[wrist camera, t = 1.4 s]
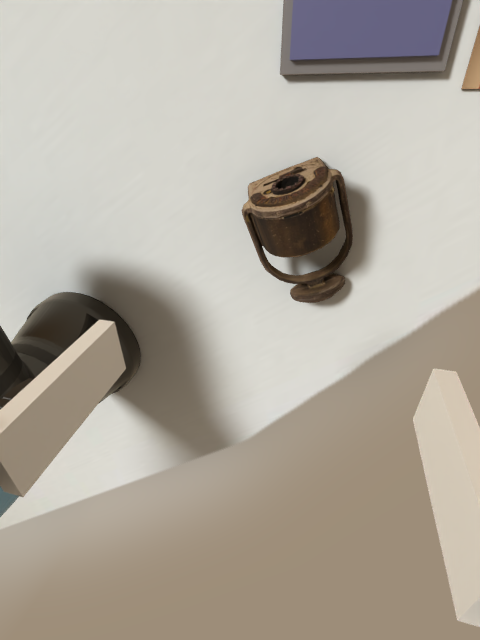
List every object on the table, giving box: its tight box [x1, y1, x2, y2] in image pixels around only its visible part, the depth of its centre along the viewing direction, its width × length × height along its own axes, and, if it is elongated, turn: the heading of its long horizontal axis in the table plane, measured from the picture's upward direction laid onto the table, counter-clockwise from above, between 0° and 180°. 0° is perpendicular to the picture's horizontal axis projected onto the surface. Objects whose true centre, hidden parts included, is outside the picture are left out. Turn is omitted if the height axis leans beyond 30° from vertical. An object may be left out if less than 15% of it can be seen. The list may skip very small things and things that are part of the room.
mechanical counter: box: [242, 157, 353, 303], centre depth 28 cm, size 7×13×10 cm
